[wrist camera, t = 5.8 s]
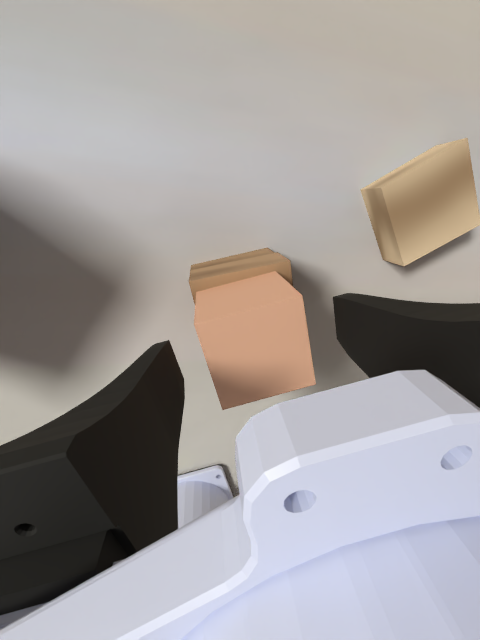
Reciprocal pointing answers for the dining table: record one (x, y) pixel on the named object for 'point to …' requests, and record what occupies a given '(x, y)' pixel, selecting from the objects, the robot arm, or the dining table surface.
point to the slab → (423, 203)
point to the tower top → (239, 271)
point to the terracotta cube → (254, 338)
